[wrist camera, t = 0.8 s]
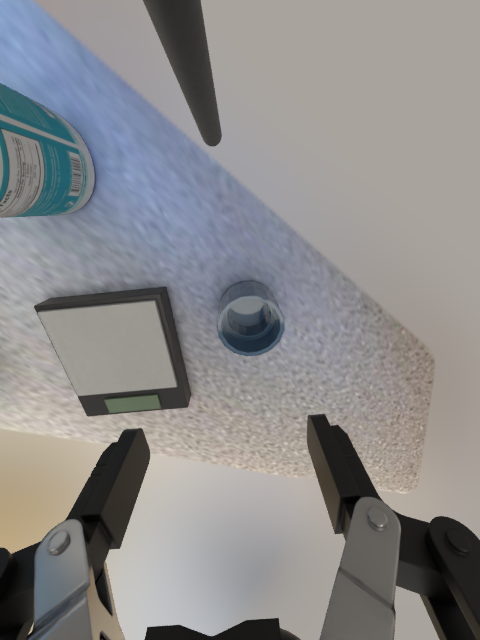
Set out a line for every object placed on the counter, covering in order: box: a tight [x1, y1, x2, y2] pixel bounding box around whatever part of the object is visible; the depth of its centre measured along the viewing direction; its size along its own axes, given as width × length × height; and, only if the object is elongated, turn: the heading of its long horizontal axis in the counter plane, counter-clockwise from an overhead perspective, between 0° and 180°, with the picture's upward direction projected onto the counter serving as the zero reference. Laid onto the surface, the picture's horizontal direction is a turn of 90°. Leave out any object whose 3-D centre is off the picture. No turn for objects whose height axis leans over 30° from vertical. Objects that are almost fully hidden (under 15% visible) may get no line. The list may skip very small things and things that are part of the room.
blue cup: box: [217, 281, 284, 356], centre depth 23 cm, size 6×6×5 cm
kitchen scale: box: [34, 287, 191, 416], centre depth 26 cm, size 14×12×3 cm
